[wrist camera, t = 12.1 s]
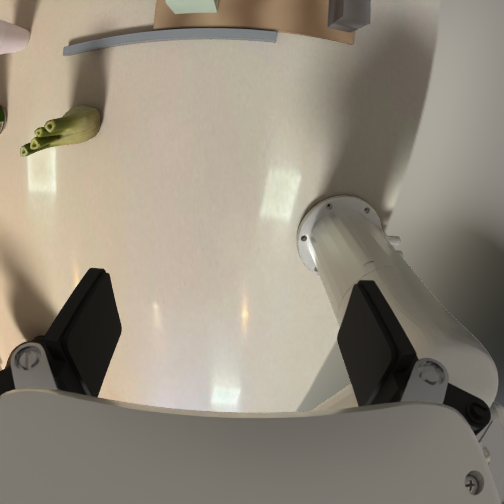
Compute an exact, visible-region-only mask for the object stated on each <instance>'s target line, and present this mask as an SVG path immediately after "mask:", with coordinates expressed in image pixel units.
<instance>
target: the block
mask: <svg viewBox="0 0 504 504" xmlns="http://www.w3.org/2000/svg"><path fill="white" fill-rule="evenodd" d="M165 3H166V4H167V5H168V6H169V7H170V9H171V10H172V11H173V12H174V13H175V14H183V13H217V10H218V0H166V2H165Z"/></svg>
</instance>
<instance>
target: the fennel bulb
mask: <svg viewBox="0 0 504 504" xmlns="http://www.w3.org/2000/svg"><path fill="white" fill-rule="evenodd" d="M100 120H101V116H100V113H99V111H98V109H97V108H94V107H90V106H87V105H79V106H76V107H74V108H72V109H70V110H69V111H68V112H67V113H65V115H64V116H63V117H62V118H58V119H53V120H49V121H48V122H47V123H46V124H45V125H44V127H41V128H38V129H36V130H35V134H36V135H37V137H35V138H33V139H32V140H31V143H28V144H26V145H24V146H22V147H21V150H20V155H21V156H22V157H24V156H28V155H30V154H32V153H34V152H37V151H40V150H43V149H46V148H49V147H54V146H60V145H69V144H78V143H82V142H85V141H87V140H89V139H91V138H93V137H95V136H96V135H97V133H98V132H99V130H100V126H101V123H100Z"/></svg>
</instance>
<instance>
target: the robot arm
mask: <svg viewBox="0 0 504 504" xmlns="http://www.w3.org/2000/svg"><path fill="white" fill-rule="evenodd" d="M327 204H329V205H328V206H327ZM365 208H366V209H365ZM302 236H304V237H302ZM400 242H401V240H400V237H397V236H387V235H386V234H385V233H384V231H383V230H382V225H381V221H380V218H379V216H378V214H377V212H376V211H375V210H374V209H373V208H372V207H371V206H370V205H369V204H368V203H367V202H365V201H364V200H362V199H360V198H357V197H354V196H348V195H341V196H334V197H330V198H327V199H325V200H323V201H321V202H319V203H318V204H317V205H315V206H314V207H313V208H312V209H311V210H310V211H309V212H308V213H307V214H306V215H305V217H304V218H303V220H302V221H301V224H300V226H299V229H298V233H297V248H298V253H299V255H300V258H301V260H302V261H303V263H304V265H305V266H306V267H307V268H308V269H309V270H310V271H312V272H313V273H315V274H317V275H319V276H320V277H321V280H322V282H323V285H324V287H325V290H326V292H327V295H328V298H329V300H330V303H331V305H332V308H333V310H334V313H335V316H336V318H337V321H338V323H339V326H340V329H339V332H338V337H337V340H338V344H339V348H340V350H341V353H342V357H343V360H344V363H345V365H346V369H347V371H348V375H349V378H350V381H351V384H350V385H348V386H347V387H345V388H344V389H342V390H341V391H340V392H338V393H337V394H335V395H334V396H332V397H331V398H329V399H328V400H326V401H325V402H323V403H322V404H320V405H319V406H317V407H316V408H315V409H313V410H312V411H305V412H304V411H303V412H277V413H236V412H211V411H195V410H183V409H172V408H163V407H155V406H147V405H140V404H133V403H126V402H120V401H115V400H109V399H103V398H98V395H99V392H100V389H101V386H102V383H103V380H104V377H105V375H106V372H107V369H108V366H109V364H110V361H111V358H112V356H113V353H114V350H115V348H116V345H117V343H118V340H119V337H120V335H121V330H122V327H121V322H120V318H119V314H118V310H117V306H116V302H115V298H114V293H113V289H112V284H111V279H110V275H109V273H106V271H105V270H104V269H99V268H90V269H89V270H88V271H87V272H86V274H85V275H84V277H83V278H82V280H81V281H80V282H79V284H78V285H77V287H76V288H75V290H74V291H73V293H72V294H71V296H70V297H69V299H68V300H67V302H66V303H65V305H64V306H63V308H62V309H61V311H60V312H59V314H58V315H57V317H56V319H55V320H54V322H53V323H52V325H51V327H50V328H49V330H48V332H47V333H46V335H45V337H44V338H43V342H42V343H41V345H40V344H37V343H26V344H23V345H21V346H19V347H18V348H17V349H16V350H15V351H14V353H13V354H12V357H11V366H10V367H8V368H6V369H4V370H1V371H0V504H504V408H503V407H502V406H501V405H499V404H498V403H496V402H494V398H495V396H496V393H497V389H498V373H497V369H496V366H495V364H494V362H493V360H492V358H491V357H490V355H489V353H488V352H487V351H486V349H485V348H484V347H483V346H482V344H481V343H480V342H479V341H478V340H477V339H476V338H475V337H474V336H473V335H472V334H471V333H470V332H469V331H468V330H467V329H466V328H465V327H464V326H463V325H461V324H460V323H459V322H458V321H457V320H456V319H455V318H454V317H453V316H452V315H451V314H450V313H449V312H448V311H447V310H446V309H445V308H444V307H443V305H441V303H440V302H439V301H438V300H437V299H436V297H435V296H434V295H433V294H432V293H431V292H430V290H429V289H428V288H427V287H426V286H425V285H424V283H423V282H422V281H421V279H420V278H419V277H418V276H417V275H416V273H415V272H414V271H413V270H412V269H411V267H410V266H409V265H408V264H407V262H406V261H405V260H404V259H403V253H402V251H399V250H395V249H394V247H393V246H399V245H400Z"/></svg>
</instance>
